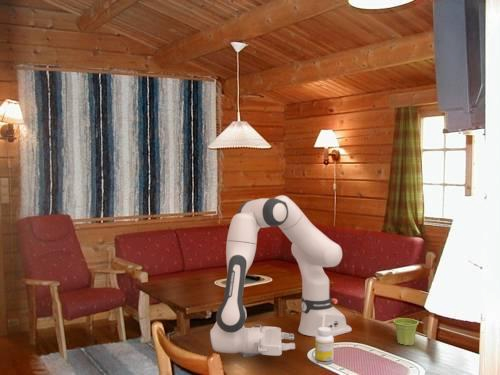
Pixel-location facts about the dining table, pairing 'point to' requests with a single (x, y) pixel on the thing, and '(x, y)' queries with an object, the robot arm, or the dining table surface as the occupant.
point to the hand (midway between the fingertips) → (294, 341)
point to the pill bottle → (324, 346)
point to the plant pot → (405, 330)
